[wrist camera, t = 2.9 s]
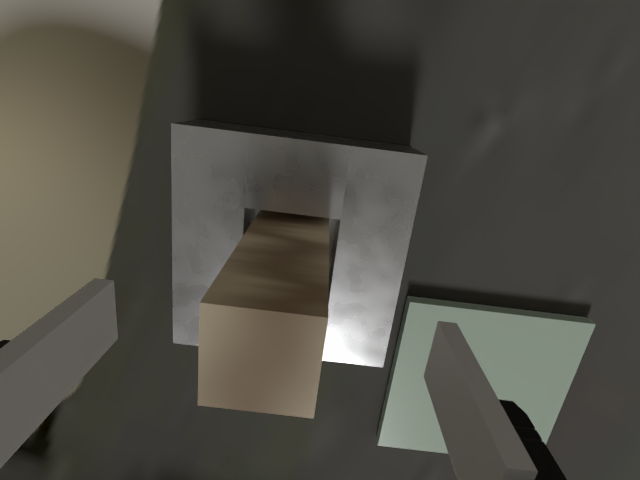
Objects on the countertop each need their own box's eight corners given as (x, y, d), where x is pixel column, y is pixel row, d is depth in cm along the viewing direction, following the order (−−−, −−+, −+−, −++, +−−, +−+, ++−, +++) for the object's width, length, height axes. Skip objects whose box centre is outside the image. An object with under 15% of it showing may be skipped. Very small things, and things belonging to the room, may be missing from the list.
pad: (376, 436, 34) (377, 445, 33) (407, 295, 30) (409, 302, 29) (532, 453, 34) (537, 463, 34) (587, 317, 30) (595, 324, 29)
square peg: (260, 261, 28) (197, 405, 15) (264, 202, 26) (199, 302, 13) (321, 268, 28) (313, 418, 15) (329, 210, 26) (328, 317, 13)
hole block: (197, 305, 30) (173, 343, 26) (200, 119, 26) (171, 123, 21) (374, 326, 30) (382, 367, 26) (409, 145, 26) (427, 155, 21)
